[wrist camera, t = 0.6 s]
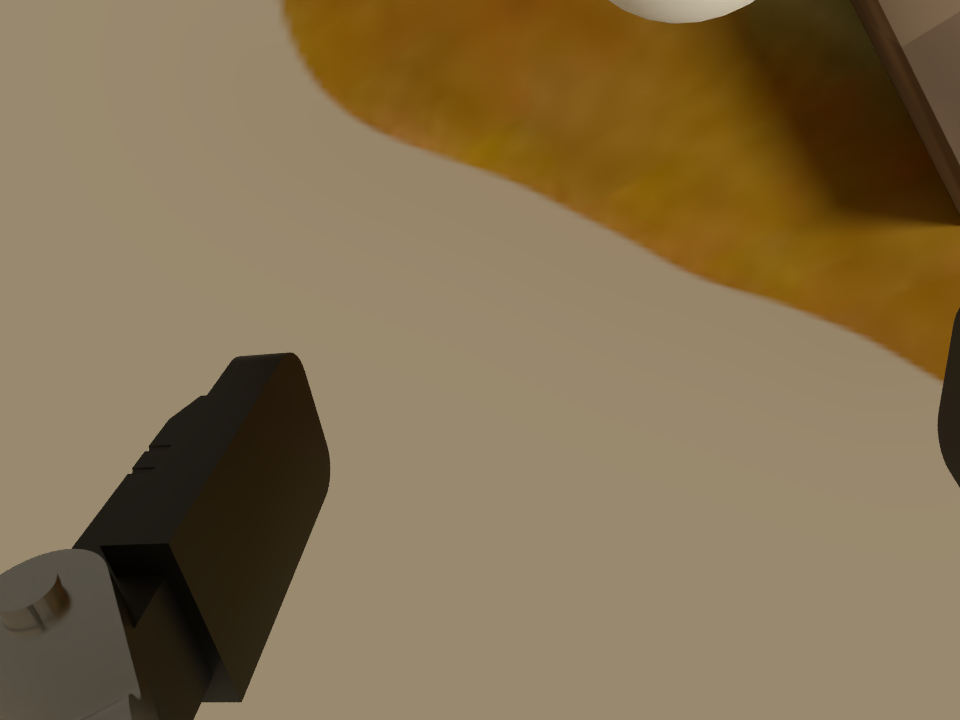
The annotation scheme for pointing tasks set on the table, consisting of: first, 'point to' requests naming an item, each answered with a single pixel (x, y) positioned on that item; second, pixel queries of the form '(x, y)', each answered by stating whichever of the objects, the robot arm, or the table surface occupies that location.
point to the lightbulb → (680, 9)
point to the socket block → (923, 71)
